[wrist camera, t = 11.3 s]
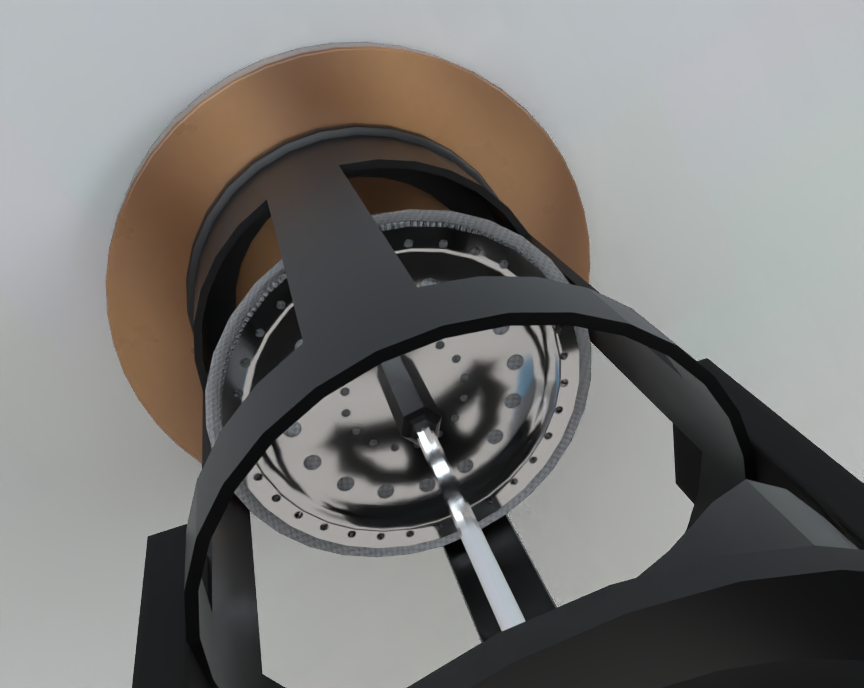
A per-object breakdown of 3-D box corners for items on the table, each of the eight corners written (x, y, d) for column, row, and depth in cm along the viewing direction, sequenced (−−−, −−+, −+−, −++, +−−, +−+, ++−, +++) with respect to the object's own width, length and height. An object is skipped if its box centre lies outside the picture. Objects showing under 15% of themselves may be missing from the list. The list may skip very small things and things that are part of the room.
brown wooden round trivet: (207, 533, 26) (207, 557, 25) (20, 115, 19) (9, 123, 18) (593, 409, 28) (608, 426, 27) (547, -13, 21) (565, -11, 20)
